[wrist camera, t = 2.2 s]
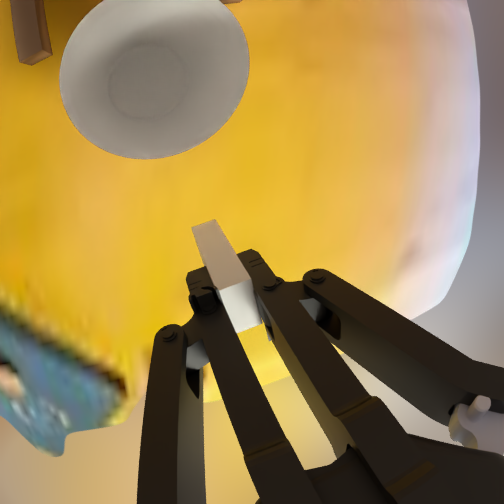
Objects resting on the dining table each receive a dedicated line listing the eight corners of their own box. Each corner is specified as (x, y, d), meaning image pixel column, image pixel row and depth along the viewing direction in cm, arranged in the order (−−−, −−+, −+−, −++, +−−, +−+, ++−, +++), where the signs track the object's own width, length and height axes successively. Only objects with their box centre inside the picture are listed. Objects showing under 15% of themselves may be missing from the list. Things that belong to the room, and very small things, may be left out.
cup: (95, 35, 17) (64, -11, 7) (205, 31, 20) (258, -14, 10) (94, 140, 22) (59, 174, 12) (200, 132, 24) (247, 158, 15)
